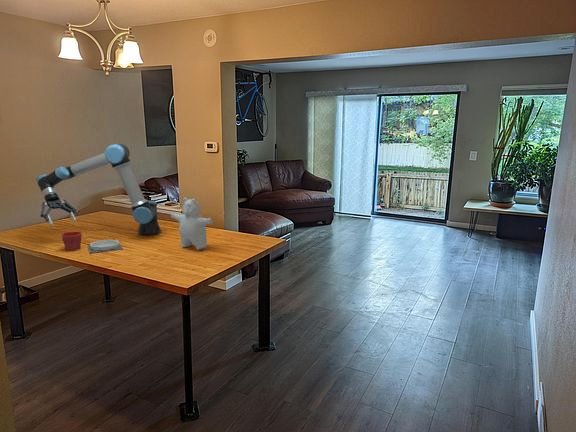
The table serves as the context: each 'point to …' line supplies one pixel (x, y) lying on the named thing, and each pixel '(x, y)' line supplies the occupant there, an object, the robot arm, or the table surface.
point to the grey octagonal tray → (104, 246)
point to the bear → (192, 225)
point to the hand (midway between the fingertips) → (63, 223)
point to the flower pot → (72, 240)
